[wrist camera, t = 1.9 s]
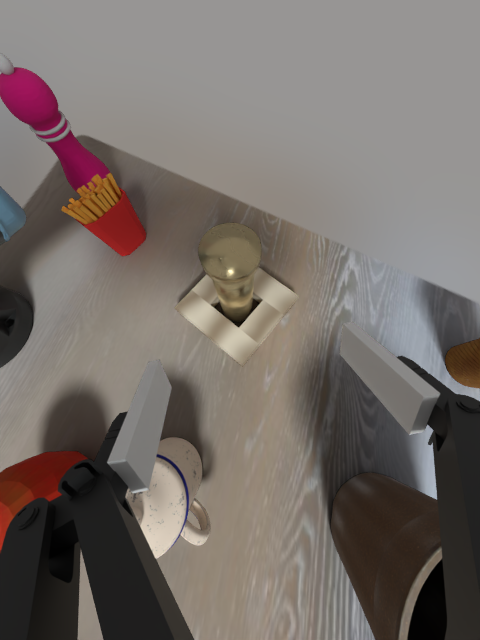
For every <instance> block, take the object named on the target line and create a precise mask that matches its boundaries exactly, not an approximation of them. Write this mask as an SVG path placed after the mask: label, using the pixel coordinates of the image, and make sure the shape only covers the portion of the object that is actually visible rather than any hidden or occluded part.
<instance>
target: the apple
mask: <svg viewBox="0 0 480 640" xmlns="http://www.w3.org/2000/svg"><path fill="white" fill-rule="evenodd" d="M85 459H88V458H87V457H85V456H84V455H82V454H81V453H79V452H78V451H57V452H45V453H42V454H40V455H37V456H34V457H31V458H29V459H26V460H24V461H22V462H20V463H17V464H15V465H13V466H10V467H8V468H6V469H5V470H3V471H2V472H1V473H0V552H1V548H2V545H3V541H4V538H5V534H6V531H7V528H8V526H9V524H10V522H11V521H12V519H13V518H14V517H15V515H16V514H17V513H18V512H19V511H20V510H21V509H22V508H23V507H24V506H25V505H27V504H28V503H29V502H31V501H33V500H35V499H37V498H43V497H44V498H46V499H47V500H48V501H51V500H53V499H55V498H57V497H59V496H61V495H62V494H61V493H59V492H58V484H59V482H60V480H61V478H62V477H63V475H64V474H65V473H66V471H67V470H69V469H70V468H71V467H72V466H73V465H74V464H76V463H78V462H79V461H82V460H85Z"/></svg>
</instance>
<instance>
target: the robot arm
mask: <svg viewBox="0 0 480 640" xmlns="http://www.w3.org/2000/svg"><path fill="white" fill-rule="evenodd" d="M25 223H26V214H25V212H24V210H23V209H22V208H21V207H20V206H19V205H18V204H17V203H16V202H15V201H14V200H13V199H12V198H11V197H10V196H9V195H8V194H7V193H6V192H5V191H4V190H3V189H2V188H1V187H0V245H1V244H3V243H4V242H7V241H8V240H10V237H11V236H12V235H13V234H14V233H16V232H17V231H18V230H19V229H21V228H22V227H23V226H24V225H25ZM31 327H32V310H31V307H30V305H29V303H28V301H27V300H26V299H25V298H24V297H23V296H22V295H21V294H19V293H18V292H15V291H13V290H10V289H8V288H5V287H2V286H0V367H2V366H4V365H5V364H6V363H8V362H9V361H10V360H11V359H12V358H14V357H15V355H16V354H17V353H18V352H19V351H20V350H21V348H22V347H23V345H24V344H25V342H26V340H27V338H28V336H29V334H30V331H31ZM340 355H341V356H342V357H343V359H344V360H345V361H346V362H347V363H348V364H349V365H350V367H351V368H352V369H353V370H354V371H355V372H356V374H357V375H358V376H359V377H360V378H361V379H362V381H363V382H364V383H365V384H366V385H367V386H368V388H369V389H370V390H371V391H372V392H373V393H374V395H375V396H376V397H377V398H378V399H379V400H380V402H381V403H382V404H383V405H384V406H385V407H386V408H387V410H388V411H389V412H390V413H391V414H392V415H393V417H394V418H395V419H396V420H397V421H398V422H399V424H400V425H401V426H402V427H403V428H404V429H405V431H406V432H407V433H408V434H409V435H412V434H417V433H421V432H424V431H425V429H426V426H427V424H428V425H429V426H430V427H431V428H432V429H433V430H434V431H433V433H432V435H431V437H430V439H429V442H428V445H431V444H432V442H433V451H434V464H435V476H436V488H437V500H438V512H439V524H440V536H441V548H442V561H443V573H444V585H445V597H446V609H447V630H446V635H445V640H480V401H478V400H476V399H474V398H472V397H469V396H466V395H460V394H455V393H454V392H452V391H451V390H450V389H449V388H447V387H446V386H445V385H443V384H442V383H441V382H440V381H438V380H437V379H436V378H434V377H433V376H432V375H430V374H428V372H427V371H425V370H424V369H423V368H421V367H420V366H419V365H417V364H416V363H415V362H414V361H412V360H410V359H408V358H406V357H403V356H399V357H395V356H394V355H393V354H392V353H391V352H389V351H388V350H387V349H386V348H384V347H383V346H382V345H381V344H380V343H378V342H377V341H376V340H375V339H373V338H372V337H371V336H370V335H369V334H367V333H366V332H365V331H364V330H363V329H361V328H360V327H359V326H358V325H356V324H355V323H354V322H348V323H343V324H342V335H341V346H340ZM171 389H172V387H171V385H170V382H169V380H168V378H167V376H166V373H165V371H164V369H163V366H162V364H161V362H160V360H155V361H150V362H148V364H147V367H146V369H145V372H144V374H143V377H142V379H141V381H140V384H139V386H138V389H137V391H136V393H135V396H134V398H133V401H132V403H131V406H130V408H129V410H128V412H123V413H120V414H119V415H118V416H117V417H116V418H115V420H114V421H113V422H112V424H111V426H110V428H109V431H108V433H107V435H106V437H105V441H103V443H102V446H101V448H100V450H99V452H98V454H97V456H96V459H95V461H94V462H93V461H92V460H90V459H85V460H82V461H79V462H78V463H76V464H74V465H73V466H72V467H71V468H70V469H69V470H67V471H66V473H65V474H64V475H63V477H62V478H61V480H60V482H59V484H58V492H59V493H61V494H62V495H61V496H59V497H57V498H55V499H53V500H51V501H48V500H47V499H46V498H44V497H43V498H37V499H35V500H33V501H31V502H29V503H28V504H27V505H25V506H24V507H23V508H22V509H21V510H20V511H19V512H18V513H17V514H16V515H15V517H14V518H13V519H12V521H11V522H10V524H9V526H8V528H7V531H6V534H5V538H4V541H3V545H2V548H1V552H0V640H77V636H78V607H79V579H80V551H82V555H83V559H84V563H85V567H86V571H87V575H88V579H89V583H90V587H91V591H92V595H93V599H94V603H95V607H96V611H97V615H98V619H99V623H100V627H101V631H102V635H103V639H104V640H194V638H193V636H192V634H191V632H190V630H189V628H188V626H187V624H186V621H185V619H184V617H183V615H182V613H181V611H180V609H179V607H178V605H177V603H176V600H175V598H174V596H173V594H172V592H171V590H170V588H169V586H168V584H167V582H166V579H165V577H164V575H163V573H162V571H161V569H160V567H159V565H158V563H157V561H156V558H155V556H154V554H153V552H152V550H151V548H150V546H149V544H148V542H147V540H146V538H145V535H144V533H143V531H142V529H141V527H140V525H139V523H138V521H137V519H136V517H135V514H134V512H133V510H132V508H131V506H130V504H129V502H128V500H127V499H126V498H125V497H126V493H127V490H128V488H129V489H130V490H131V492H132V493H137V492H142V491H147V490H149V486H150V482H151V478H152V473H153V469H154V464H155V460H156V455H157V451H158V447H159V442H160V438H161V433H162V429H163V424H164V420H165V416H166V411H167V407H168V402H169V398H170V393H171Z"/></svg>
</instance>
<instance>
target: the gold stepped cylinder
mask: <svg viewBox="0 0 480 640" xmlns="http://www.w3.org/2000/svg"><path fill="white" fill-rule="evenodd" d="M261 250H262V249H261V242H260V240H259V238H258V236H257V235H256V233H255V232H254V231H253V230H251V229H250V228H249V227H247V226H245V225H242V224H238V223H223V224H220V225H217V226H215V227H213V228H211V229H210V230H209V231H208V232H206V234H205V235H204V236H203V237H202V239H201V241H200V244H199V248H198V254H199V258H200V261H201V264H202V266H203V269H204V271H205V273H206V274H207V275H208V276H209V277H210V278H211V279H212V280H213V283H214V286H215V289H216V292H217V295H218V298H219V301H220V304H221V307H222V310H223V313H224V315H225V316H226V317H227V318H228V319H229V320H231V321H235V322H239V321H243V320H245V319H246V318H248V317H249V315H250V314H251V311H252V301H253V287H254V274H255V273H256V271H257V270H258V267H259V265H260V259H261Z"/></svg>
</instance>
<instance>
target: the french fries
mask: <svg viewBox="0 0 480 640" xmlns="http://www.w3.org/2000/svg"><path fill="white" fill-rule="evenodd" d="M106 176H107V178H104V179H101V177H100V176H99V175H98V174H97V175H95V176H94V177H93V178H92V179H91V181H92V182H93V183H94V184H95V185H96V186H97V187H95V186H94V185H93V183H92V182H89V183H87V185H88V186H89V189H90V190H91V191H90V190H89V189H87V188H86V187H85V186H84V185H83V186H82V187H81V189H82V190H83V191H82V190H81V189H80V188H78V190H77V191H76V192H78V193H79V194H80V196H81V198H79V201H78V200H76V201H75V200H74V199H73V198H71V199H70V200H69V201H70V202H71V203H72V204H71V203H70V204H69V205H68V206H67V207H68V208H69V209H68V208H66V207H65V206H63V207H62V210H61V211H63V212H65V213H67V214H68V215H70V216H72V217H74V218H76V220H77V221H78V222H79V223H81V224H82V225H83V226H84V227H86V228H87V229H88V230H89V231H91V232H92V233H93V234H94V235H96V236H97V237H98V238H100V239H101V240H102V241H103V242H105V243H106V244H107V245H109V246H110V247H111V248H112V249H114V250H115V251H116V252H117V253H119V254H120V255H121V256H125V255H130V254H131V253H132V252H133V251H134V250H136V249H137V248H138V247H139V246H140V245H141V244H142V243H143V242H144V241H145V239H146V232H145V230H144V228H143V226H142V224H141V222H140V221H139V219H138V217H137V215H136V213H135V211H134V209H133V207H132V205H131V203H130V201H129V199H128V197H127V195H126V193H125V192H124V191H123V190H122V189H121V188H119V187H118V186H117V184H116V182H115V180H114V178H113V176H112V174H111V173H109V174H108V175H106Z"/></svg>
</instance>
